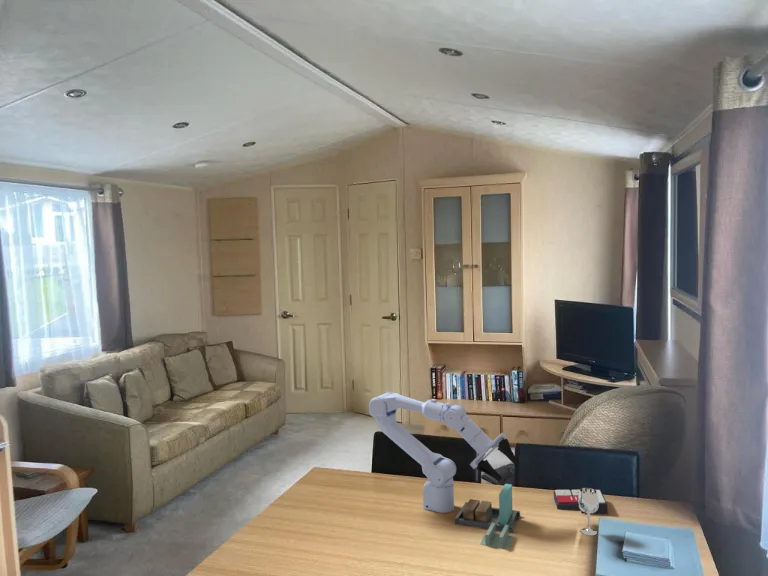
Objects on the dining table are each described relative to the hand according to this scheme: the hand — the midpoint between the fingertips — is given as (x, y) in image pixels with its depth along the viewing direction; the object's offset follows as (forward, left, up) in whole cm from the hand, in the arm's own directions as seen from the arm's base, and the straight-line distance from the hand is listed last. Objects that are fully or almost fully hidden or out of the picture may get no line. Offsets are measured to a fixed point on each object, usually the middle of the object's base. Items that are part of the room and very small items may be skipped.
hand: (508, 471), depth 179 cm
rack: (-6, -2, -16) cm, 17 cm away
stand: (-1, -14, -16) cm, 21 cm away
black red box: (+18, +20, -17) cm, 32 cm away
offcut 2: (-7, -2, -15) cm, 17 cm away
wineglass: (+22, +2, -16) cm, 28 cm away
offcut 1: (-11, -2, -15) cm, 19 cm away
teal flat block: (-1, -2, -15) cm, 15 cm away
